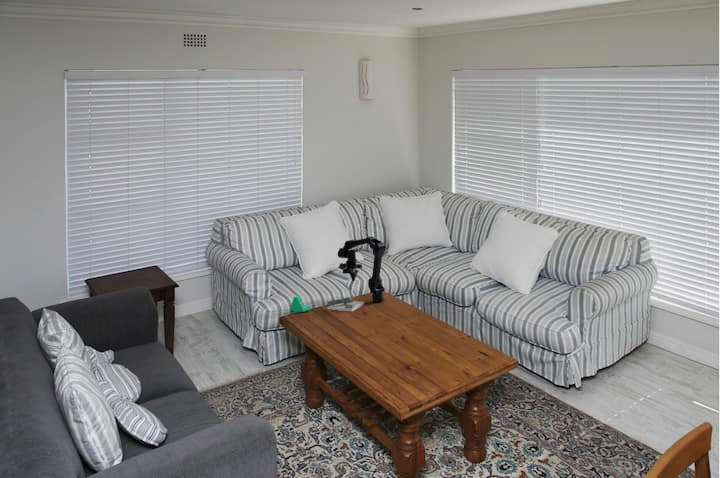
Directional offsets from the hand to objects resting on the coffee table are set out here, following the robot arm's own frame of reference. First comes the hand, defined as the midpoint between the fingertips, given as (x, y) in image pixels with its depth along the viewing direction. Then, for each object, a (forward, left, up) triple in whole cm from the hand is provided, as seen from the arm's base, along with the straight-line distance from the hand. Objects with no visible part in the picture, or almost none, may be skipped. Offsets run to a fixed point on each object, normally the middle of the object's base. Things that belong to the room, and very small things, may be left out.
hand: (353, 281), depth 408 cm
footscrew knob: (-1, +24, -10) cm, 26 cm away
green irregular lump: (+22, +34, -12) cm, 43 cm away
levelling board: (-4, +22, -12) cm, 25 cm away
